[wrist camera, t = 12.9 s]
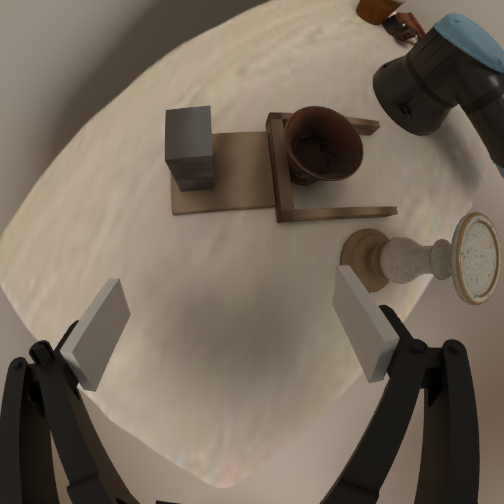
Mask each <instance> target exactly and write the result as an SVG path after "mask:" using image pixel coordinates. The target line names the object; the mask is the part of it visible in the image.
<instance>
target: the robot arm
mask: <svg viewBox="0 0 504 504" xmlns="http://www.w3.org/2000/svg"><path fill="white" fill-rule="evenodd" d="M373 87H374V91H375V94H376V96H377V98H378V100H379V102H380V104H381V105H382V107H383V108H384V110H385V111H386V112H387V113H388V115H389V116H390V117H391V118H392V119H393V120H394V121H395V122H396V123H397V124H399V125H400V126H401V127H403V128H404V129H406V130H407V131H409V132H411V133H413V134H416V135H428V134H430V133H432V132H434V131H435V130H437V129H438V128H439V127H440V125H441V123H442V122H443V120H444V119H445V118H446V116H447V115H448V113H449V112H450V110H451V109H452V108H453V107H455V106H456V105H458V104H459V105H460V106H461V108H462V109H463V111H464V112H465V114H466V115H467V117H468V118H469V120H470V121H471V123H472V124H473V126H474V128H475V129H476V131H477V133H478V134H479V136H480V138H481V139H482V141H483V143H484V145H485V146H486V148H487V150H488V152H489V155H490V158H491V160H492V161H493V163H494V164H496V167H497V168H498V170H499V172H500V174H501V175H502V177H503V178H504V51H503V49H502V48H501V47H500V46H499V44H498V43H497V42H496V41H495V40H494V39H493V38H492V37H491V36H490V35H489V34H488V33H487V32H486V31H485V30H484V29H483V28H481V27H480V26H479V25H477V24H476V23H475V22H473V21H472V20H471V19H469V18H467V17H466V16H464V15H461V14H458V13H449V14H447V15H446V16H445V17H444V18H442V19H441V20H440V21H439V22H436V23H435V24H434V27H433V28H432V29H431V30H430V31H429V32H428V33H427V34H426V35H425V36H424V37H423V38H422V39H421V40H420V41H419V42H418V43H417V44H416V45H415V46H414V47H413V48H412V49H411V50H410V51H409V52H408V53H407V54H406V55H405V56H402V57H400V58H397V59H395V60H392V61H390V62H388V63H385V64H384V65H382V66H381V67H380V68H379V69H378V70H377V72H376V73H375V75H374V78H373ZM332 305H333V307H334V309H335V311H336V313H337V315H338V317H339V319H340V321H341V323H342V325H343V327H344V329H345V332H346V334H347V336H348V338H349V340H350V342H351V344H352V346H353V349H354V351H355V353H356V355H357V357H358V360H359V362H360V364H361V366H362V368H363V371H364V373H365V375H366V377H367V380H368V382H369V383H372V382H377V381H381V380H383V379H384V376H385V374H386V372H387V373H388V375H389V377H390V378H389V381H388V383H387V385H386V387H385V390H384V392H383V395H382V397H381V399H380V401H379V404H378V406H377V408H376V410H375V412H374V415H373V417H372V419H371V420H370V423H369V425H368V426H367V428H366V431H365V432H364V434H363V436H362V438H361V440H360V442H359V443H358V445H357V447H356V449H355V450H354V452H353V454H352V456H351V457H350V459H349V461H348V462H347V464H346V466H345V467H344V469H343V471H342V472H341V474H340V475H339V477H338V478H337V480H336V481H335V483H334V484H333V486H332V487H331V489H330V490H329V492H328V493H327V494H326V496H325V497H324V499H323V500H322V501H321V502H320V504H376V502H377V500H378V497H379V490H380V488H381V486H382V484H383V482H384V480H385V478H386V476H387V474H388V472H389V470H390V468H391V466H392V464H393V461H394V459H395V457H396V455H397V452H398V450H399V448H400V445H401V443H402V440H403V438H404V435H405V433H406V430H407V427H408V424H409V421H410V419H411V416H412V413H413V410H414V407H415V404H416V401H417V397H418V394H419V390H420V389H423V388H424V428H423V443H422V454H421V464H420V472H419V478H418V485H417V491H416V496H415V501H414V504H478V503H477V500H478V489H479V466H480V465H479V464H480V463H479V462H480V459H479V458H480V457H479V456H480V455H479V431H478V419H477V409H476V401H475V394H474V388H473V381H472V376H471V371H470V366H469V361H468V356H467V352H466V348H465V347H464V345H463V344H462V343H461V342H459V341H457V340H453V339H452V340H447V341H445V342H444V344H443V346H442V348H430V347H428V346H427V344H426V343H425V342H423V341H421V340H419V339H413V337H412V336H411V334H410V333H409V331H408V330H407V329H406V327H405V326H404V325H403V323H402V322H401V320H400V319H399V317H397V315H396V313H395V312H394V311H393V309H391V308H390V307H388V306H387V305H380V306H378V305H377V304H376V302H375V301H374V299H373V298H372V296H371V295H370V294H369V292H368V291H367V289H366V288H365V287H364V285H363V284H362V282H361V281H360V280H359V278H358V277H357V276H356V274H355V273H354V272H353V270H352V269H351V267H350V266H349V265H344V266H337V270H336V279H335V288H334V296H333V304H332ZM130 315H131V314H130V311H129V308H128V305H127V302H126V299H125V296H124V292H123V289H122V286H121V282H120V279H109V280H108V281H107V282H106V284H105V285H104V286H103V288H102V289H101V290H100V292H99V293H98V295H97V296H96V297H95V299H94V300H93V302H92V303H91V304H90V306H89V307H88V309H87V310H86V311H85V313H84V314H83V316H82V317H81V319H80V320H77V321H75V322H74V323H73V324H72V325H71V326H70V327H69V328H68V330H67V331H66V333H65V334H64V336H63V338H62V339H61V340H60V342H59V343H58V345H57V347H56V348H55V350H54V351H53V349H52V347H51V345H50V344H49V342H48V341H46V340H42V341H38V342H36V343H35V344H34V345H33V346H32V347H31V348H30V350H29V354H30V356H31V358H32V359H33V361H34V362H35V363H34V364H28V362H27V361H26V359H25V358H23V357H18V358H15V359H14V360H13V361H12V362H11V363H10V365H9V368H8V372H7V378H6V382H5V388H4V394H3V400H2V407H1V415H0V504H60V503H59V498H58V494H57V488H56V482H55V475H54V469H53V460H52V449H51V435H50V430H51V433H52V436H53V439H54V443H55V446H56V449H57V451H58V454H59V457H60V460H61V462H62V465H63V468H64V470H65V473H66V475H67V478H68V480H69V483H70V485H69V486H67V492H68V495H69V497H70V499H71V501H72V503H73V504H140V503H139V502H138V501H137V500H136V499H135V498H134V497H133V496H132V494H131V493H130V492H129V490H128V489H127V487H126V486H125V484H124V482H123V481H122V479H121V477H120V476H119V474H118V473H117V471H116V469H115V467H114V466H113V464H112V462H111V460H110V458H109V457H108V455H107V453H106V451H105V449H104V447H103V445H102V443H101V441H100V439H99V437H98V435H97V433H96V431H95V429H94V426H93V424H92V422H91V420H90V417H89V415H88V413H87V410H86V408H85V405H84V403H83V400H82V398H81V395H80V393H79V390H78V389H77V388H76V387H77V385H78V383H80V385H81V386H82V388H83V389H84V390H89V391H95V392H96V390H97V387H98V385H99V382H100V380H101V378H102V375H103V373H104V371H105V368H106V366H107V364H108V362H109V359H110V357H111V355H112V353H113V351H114V348H115V346H116V344H117V342H118V340H119V338H120V336H121V334H122V331H123V329H124V327H125V325H126V323H127V321H128V319H129V317H130ZM156 504H178V503H170V502H163V501H156Z"/></svg>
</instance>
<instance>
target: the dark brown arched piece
mask: <svg viewBox="0 0 504 504" xmlns="http://www.w3.org/2000/svg"><path fill="white" fill-rule="evenodd" d="M404 23H405V26H402V24H404ZM383 24H384V27H385V28H386V30H387V32H388V33H389V34H390V35H392V34H393V33H395V32H396V37H397V39H399V40H401V41H405V40H407V39H410V38H413V37H415V35H416V34H417V37H418V42H419V41H420V40H421V39H422V38H423V37H424V36H425V35H426V34H425V32H424V31H423V29H422V27H421V26H420V24H419V23H418V22H417V20H416V18H415V17H414V16H413V14H412V13H408V14H407V13H400V12H399V13H396V15H393V16H391V17H390V18H389V17H388V18H387V19H386V20H385V21H383ZM418 42H417V43H418ZM417 43H415V45H416V44H417Z"/></svg>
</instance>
